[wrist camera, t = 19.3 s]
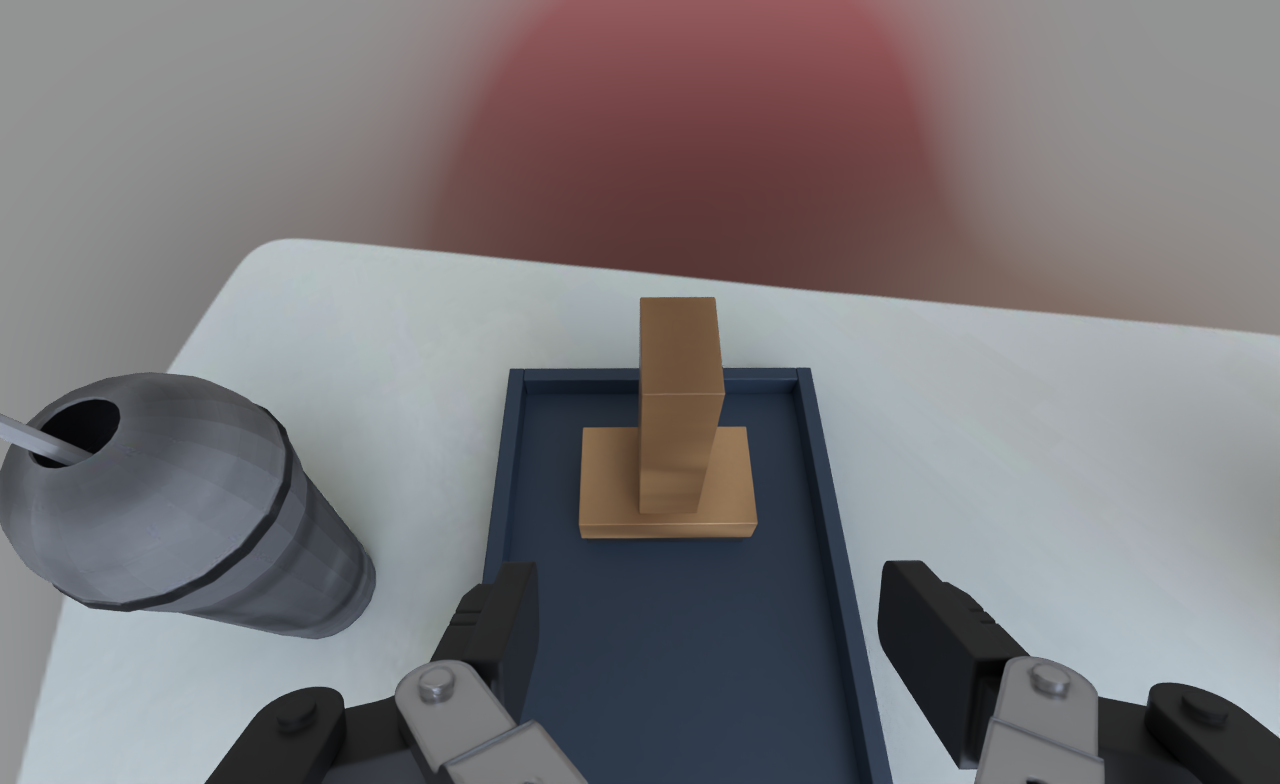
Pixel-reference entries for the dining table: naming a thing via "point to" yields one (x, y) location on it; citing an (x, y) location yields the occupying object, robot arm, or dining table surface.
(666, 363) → the wooden post on base
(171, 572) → the beverage cup
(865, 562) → the dining table surface
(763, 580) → the tray
